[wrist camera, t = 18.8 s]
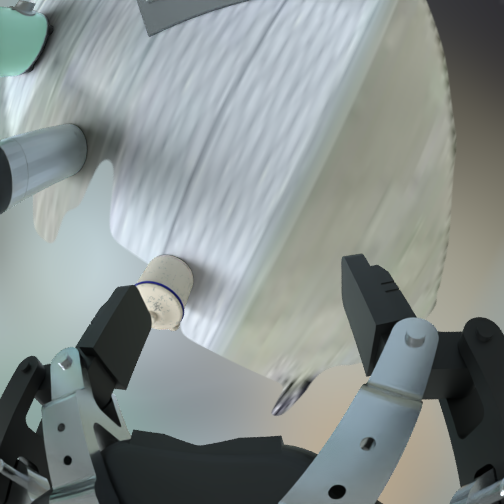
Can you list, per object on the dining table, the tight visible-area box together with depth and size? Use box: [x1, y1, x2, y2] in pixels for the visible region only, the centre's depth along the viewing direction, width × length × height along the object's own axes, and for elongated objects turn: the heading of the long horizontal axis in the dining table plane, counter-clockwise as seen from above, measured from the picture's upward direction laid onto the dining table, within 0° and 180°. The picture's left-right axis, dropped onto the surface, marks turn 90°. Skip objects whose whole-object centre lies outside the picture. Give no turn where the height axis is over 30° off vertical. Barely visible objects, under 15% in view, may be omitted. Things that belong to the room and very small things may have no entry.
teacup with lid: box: [135, 255, 193, 331], centre depth 42 cm, size 12×9×12 cm
